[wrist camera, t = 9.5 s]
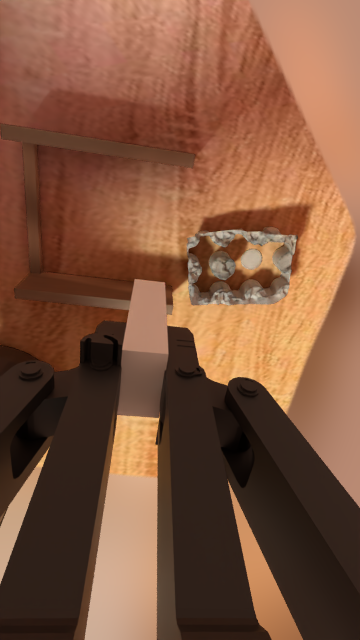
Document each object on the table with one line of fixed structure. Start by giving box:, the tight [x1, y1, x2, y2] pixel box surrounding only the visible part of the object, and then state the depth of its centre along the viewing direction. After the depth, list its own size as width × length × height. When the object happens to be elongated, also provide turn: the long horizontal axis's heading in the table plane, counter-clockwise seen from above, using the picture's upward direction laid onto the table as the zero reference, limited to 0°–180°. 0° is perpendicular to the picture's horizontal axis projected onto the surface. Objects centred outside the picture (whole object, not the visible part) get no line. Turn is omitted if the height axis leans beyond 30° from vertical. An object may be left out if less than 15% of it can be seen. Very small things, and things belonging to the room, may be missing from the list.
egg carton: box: [187, 227, 298, 305], centre depth 34 cm, size 11×8×4 cm
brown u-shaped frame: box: [0, 124, 195, 315], centre depth 31 cm, size 14×14×5 cm
